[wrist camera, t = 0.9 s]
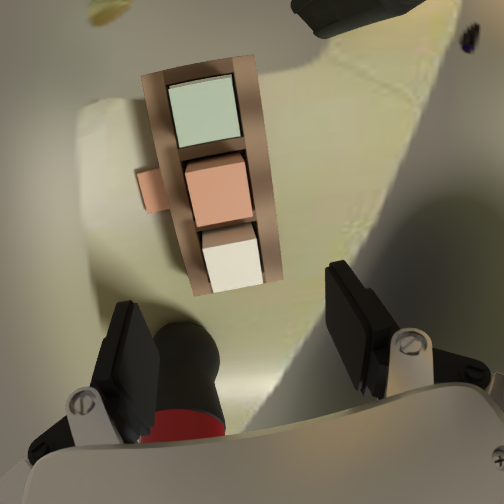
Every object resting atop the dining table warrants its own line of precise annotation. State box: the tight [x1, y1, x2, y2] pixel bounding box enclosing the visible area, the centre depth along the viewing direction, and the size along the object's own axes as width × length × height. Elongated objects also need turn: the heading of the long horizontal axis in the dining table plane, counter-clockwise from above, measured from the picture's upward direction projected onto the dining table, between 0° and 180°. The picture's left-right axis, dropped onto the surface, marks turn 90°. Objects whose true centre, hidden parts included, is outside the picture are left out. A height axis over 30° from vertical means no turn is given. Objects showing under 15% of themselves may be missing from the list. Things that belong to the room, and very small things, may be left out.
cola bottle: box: [139, 322, 226, 443], centre depth 25 cm, size 8×8×30 cm
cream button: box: [202, 222, 263, 293], centre depth 29 cm, size 4×4×4 cm
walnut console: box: [141, 55, 283, 296], centre depth 28 cm, size 21×9×3 cm, turn 8°
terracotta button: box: [185, 152, 253, 227], centre depth 26 cm, size 4×4×4 cm
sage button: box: [168, 77, 240, 148], centre depth 23 cm, size 4×4×4 cm
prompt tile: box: [137, 168, 170, 214], centre depth 29 cm, size 4×2×1 cm, turn 8°
